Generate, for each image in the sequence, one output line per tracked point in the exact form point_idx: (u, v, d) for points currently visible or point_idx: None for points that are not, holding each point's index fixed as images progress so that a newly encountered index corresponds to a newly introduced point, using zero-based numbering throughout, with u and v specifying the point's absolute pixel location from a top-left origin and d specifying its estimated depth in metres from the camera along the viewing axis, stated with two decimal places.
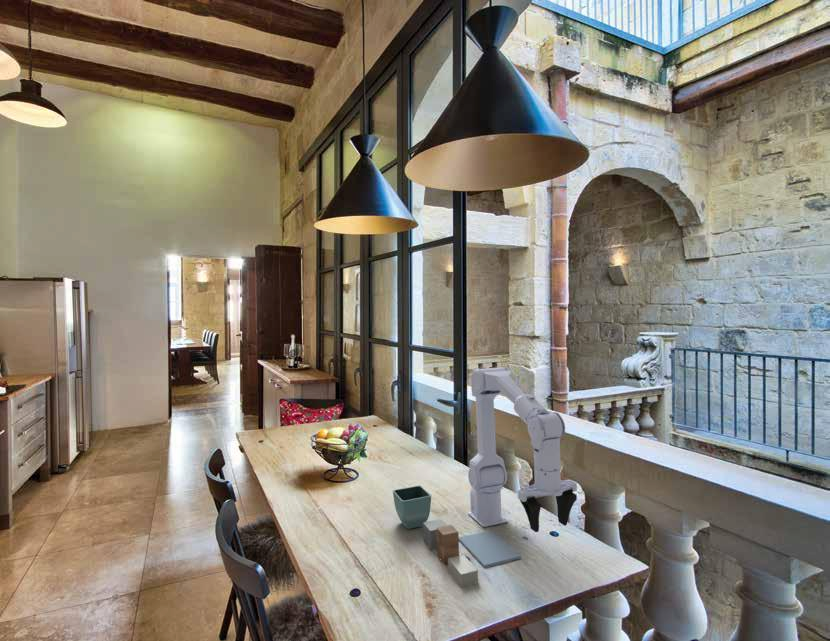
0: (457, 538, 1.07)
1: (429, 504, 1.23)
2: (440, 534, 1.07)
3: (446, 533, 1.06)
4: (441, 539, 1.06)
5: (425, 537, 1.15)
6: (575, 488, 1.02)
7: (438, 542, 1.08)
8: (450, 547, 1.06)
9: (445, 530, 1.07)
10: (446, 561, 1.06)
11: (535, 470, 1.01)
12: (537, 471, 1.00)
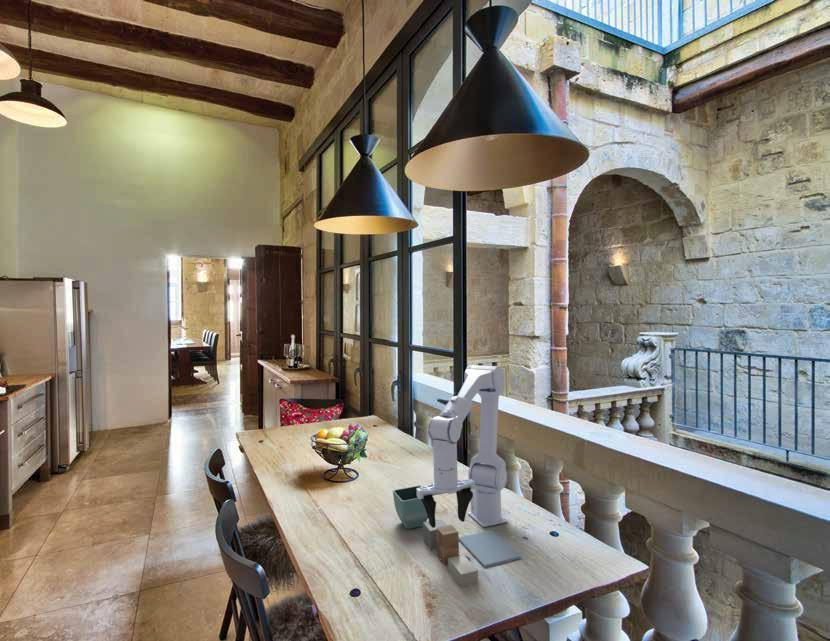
0: (457, 538, 1.07)
1: None
2: (440, 534, 1.07)
3: (446, 533, 1.06)
4: (441, 539, 1.06)
5: (425, 537, 1.15)
6: (473, 486, 1.09)
7: (438, 542, 1.08)
8: (450, 547, 1.06)
9: (445, 530, 1.07)
10: (446, 561, 1.06)
11: (434, 469, 1.07)
12: (435, 470, 1.06)
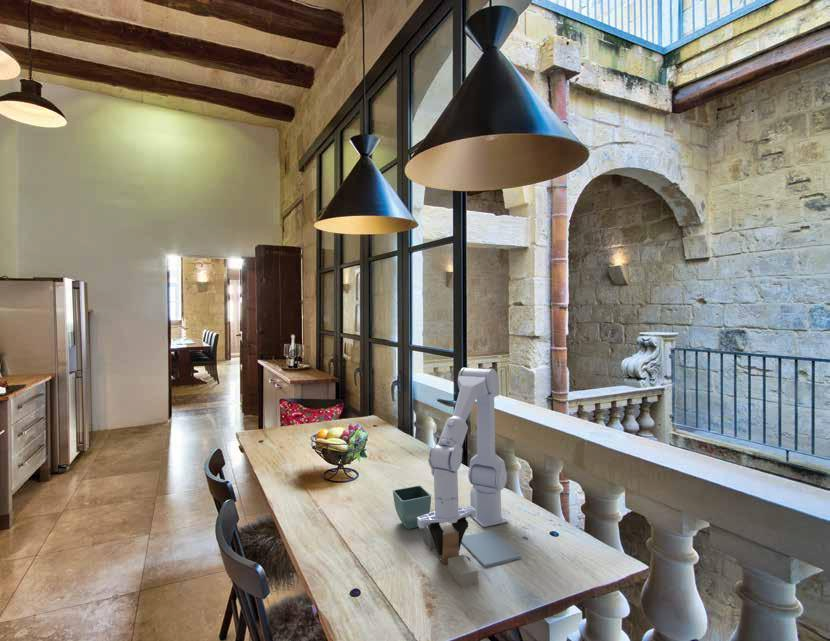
0: (457, 538, 1.07)
1: (429, 504, 1.23)
2: None
3: (446, 533, 1.06)
4: None
5: (425, 537, 1.15)
6: (474, 514, 1.09)
7: None
8: (450, 547, 1.06)
9: (445, 530, 1.07)
10: (446, 561, 1.06)
11: None
12: (436, 499, 1.07)
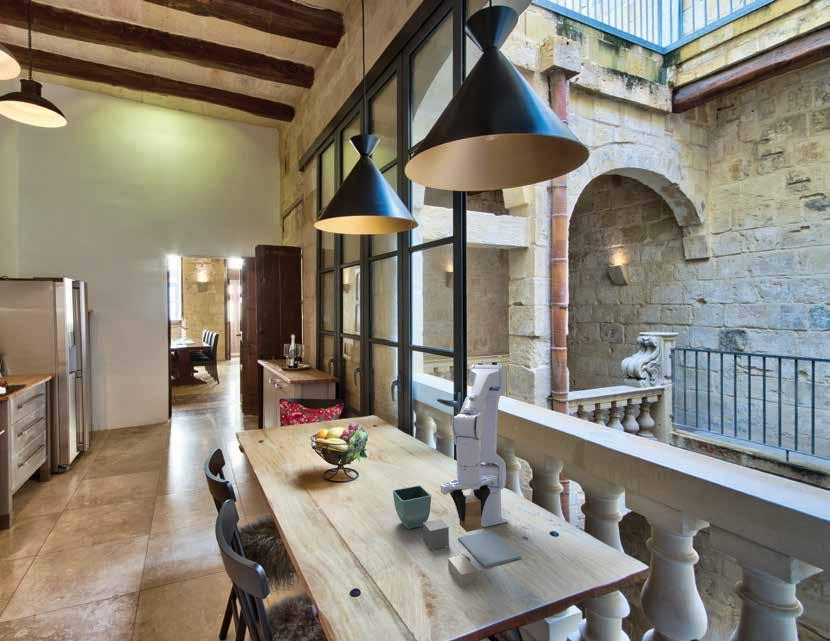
0: (479, 507, 1.09)
1: (429, 504, 1.23)
2: None
3: (469, 502, 1.08)
4: None
5: (425, 537, 1.15)
6: (495, 482, 1.11)
7: None
8: (473, 515, 1.08)
9: (467, 499, 1.10)
10: (469, 529, 1.08)
11: (457, 466, 1.09)
12: (458, 467, 1.09)
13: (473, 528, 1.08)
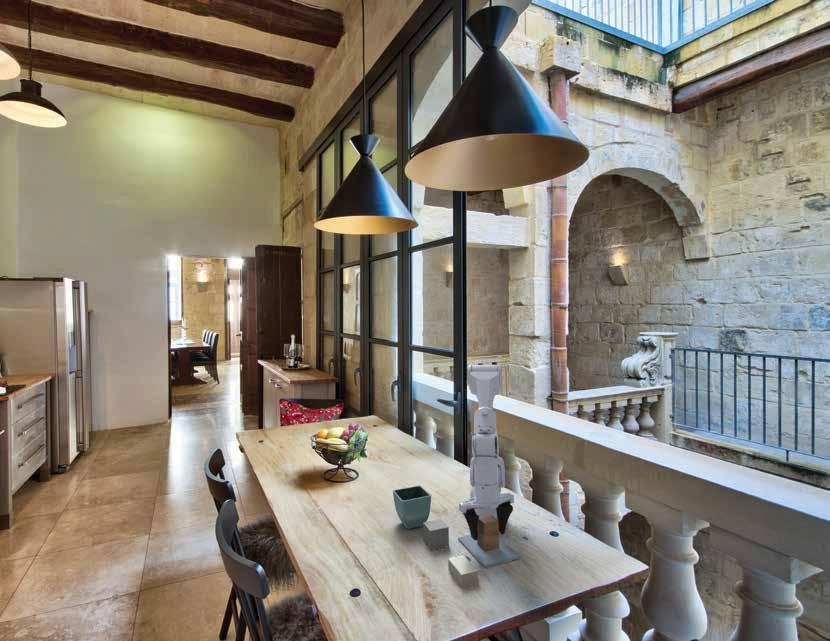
0: (497, 526, 1.10)
1: (429, 504, 1.23)
2: (481, 522, 1.11)
3: (487, 521, 1.10)
4: (481, 527, 1.10)
5: (425, 537, 1.15)
6: (512, 500, 1.13)
7: (478, 531, 1.12)
8: (491, 535, 1.10)
9: (485, 519, 1.11)
10: (487, 548, 1.09)
11: (475, 484, 1.11)
12: (476, 485, 1.10)
13: (491, 548, 1.10)
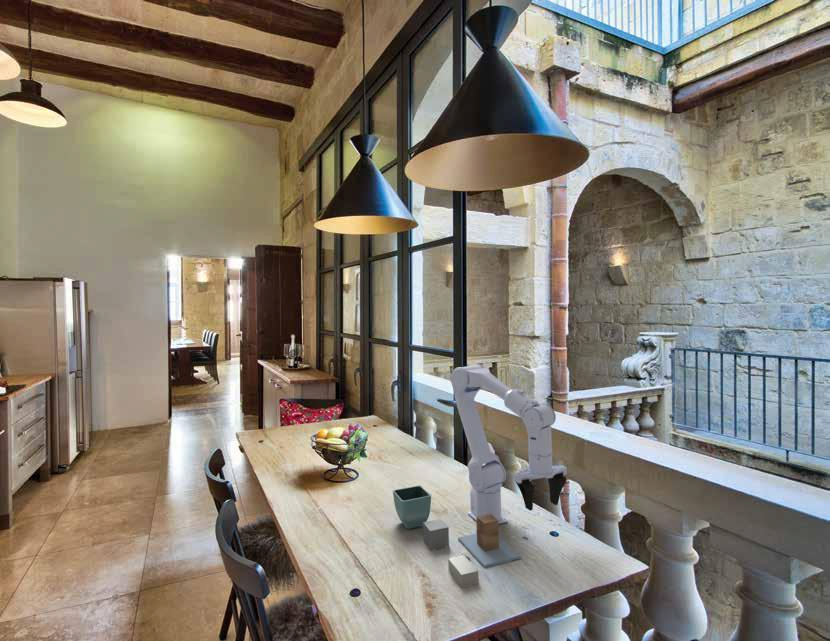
0: (497, 526, 1.10)
1: (429, 504, 1.23)
2: (481, 522, 1.11)
3: (487, 521, 1.10)
4: (481, 527, 1.10)
5: (425, 537, 1.15)
6: (565, 472, 1.15)
7: (478, 531, 1.12)
8: (491, 535, 1.10)
9: (485, 519, 1.11)
10: (487, 548, 1.09)
11: (529, 455, 1.13)
12: (531, 456, 1.12)
13: (491, 548, 1.10)
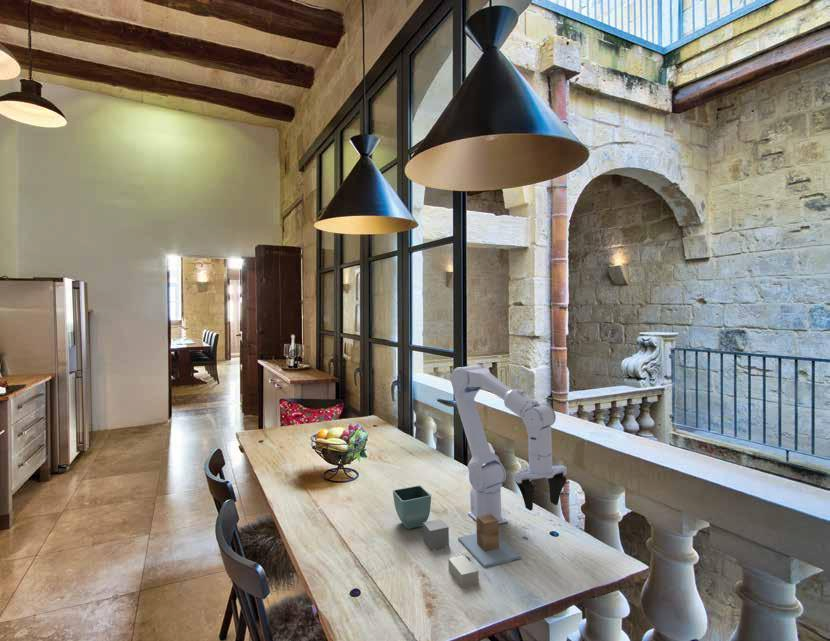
0: (497, 526, 1.10)
1: (429, 504, 1.23)
2: (481, 522, 1.11)
3: (487, 521, 1.10)
4: (481, 527, 1.10)
5: (425, 537, 1.15)
6: (565, 472, 1.15)
7: (478, 531, 1.12)
8: (491, 535, 1.10)
9: (485, 519, 1.11)
10: (487, 548, 1.09)
11: (529, 455, 1.13)
12: (531, 456, 1.12)
13: (491, 548, 1.10)
